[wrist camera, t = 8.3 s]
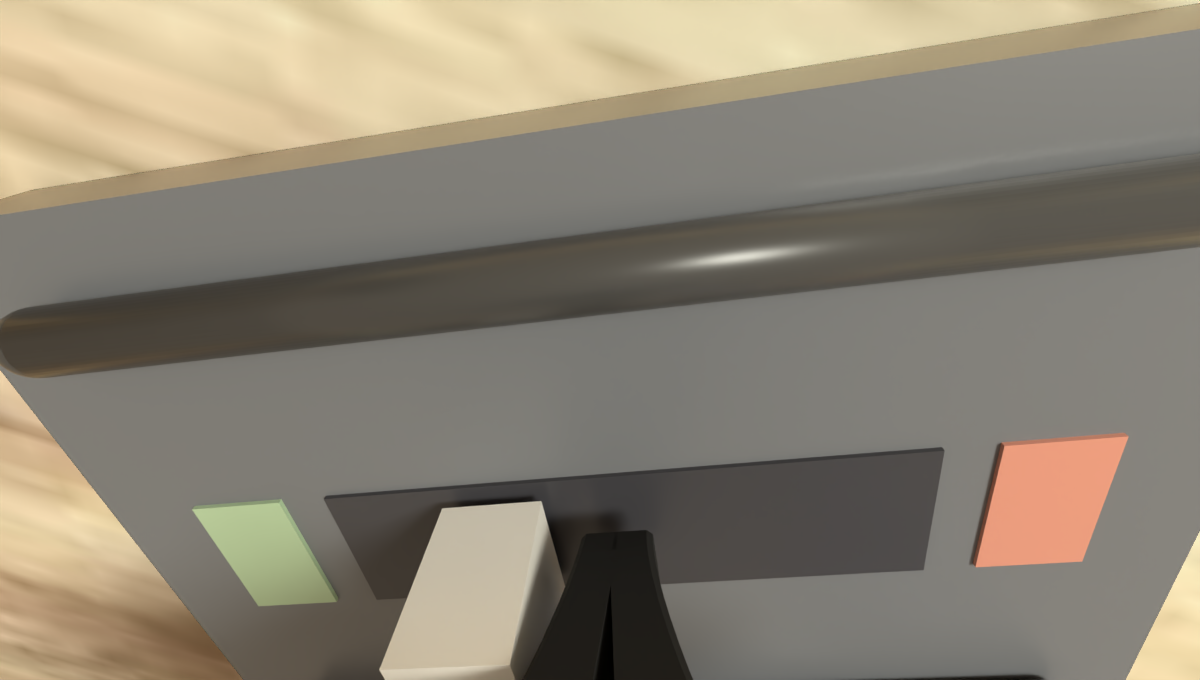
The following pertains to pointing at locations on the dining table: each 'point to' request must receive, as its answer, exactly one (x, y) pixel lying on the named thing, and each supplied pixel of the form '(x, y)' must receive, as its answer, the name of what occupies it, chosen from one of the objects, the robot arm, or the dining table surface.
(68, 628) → the dining table surface
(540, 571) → the breaker toggle
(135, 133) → the dining table surface
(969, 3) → the dining table surface
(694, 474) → the breaker panel
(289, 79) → the dining table surface
